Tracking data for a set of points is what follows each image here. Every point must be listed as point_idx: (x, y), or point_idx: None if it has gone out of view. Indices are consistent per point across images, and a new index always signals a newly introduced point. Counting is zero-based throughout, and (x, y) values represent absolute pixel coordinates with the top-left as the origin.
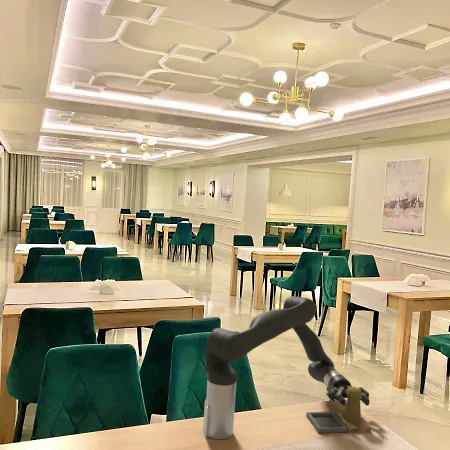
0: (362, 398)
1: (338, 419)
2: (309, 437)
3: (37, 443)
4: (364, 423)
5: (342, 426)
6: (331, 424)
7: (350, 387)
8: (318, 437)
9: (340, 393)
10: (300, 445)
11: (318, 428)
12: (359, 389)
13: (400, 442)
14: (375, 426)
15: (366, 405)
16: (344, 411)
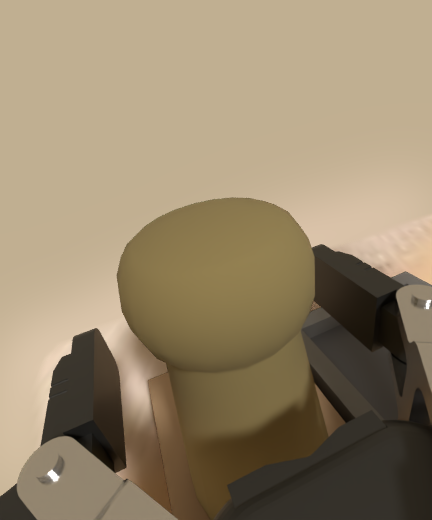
0: (109, 436)
1: (355, 402)
2: (417, 256)
3: None
4: (174, 418)
5: (307, 338)
6: (384, 371)
7: (260, 222)
8: (385, 268)
9: (409, 326)
10: (412, 221)
11: (409, 274)
12: (141, 235)
13: (54, 360)
14: None
15: (117, 370)
16: (323, 419)
